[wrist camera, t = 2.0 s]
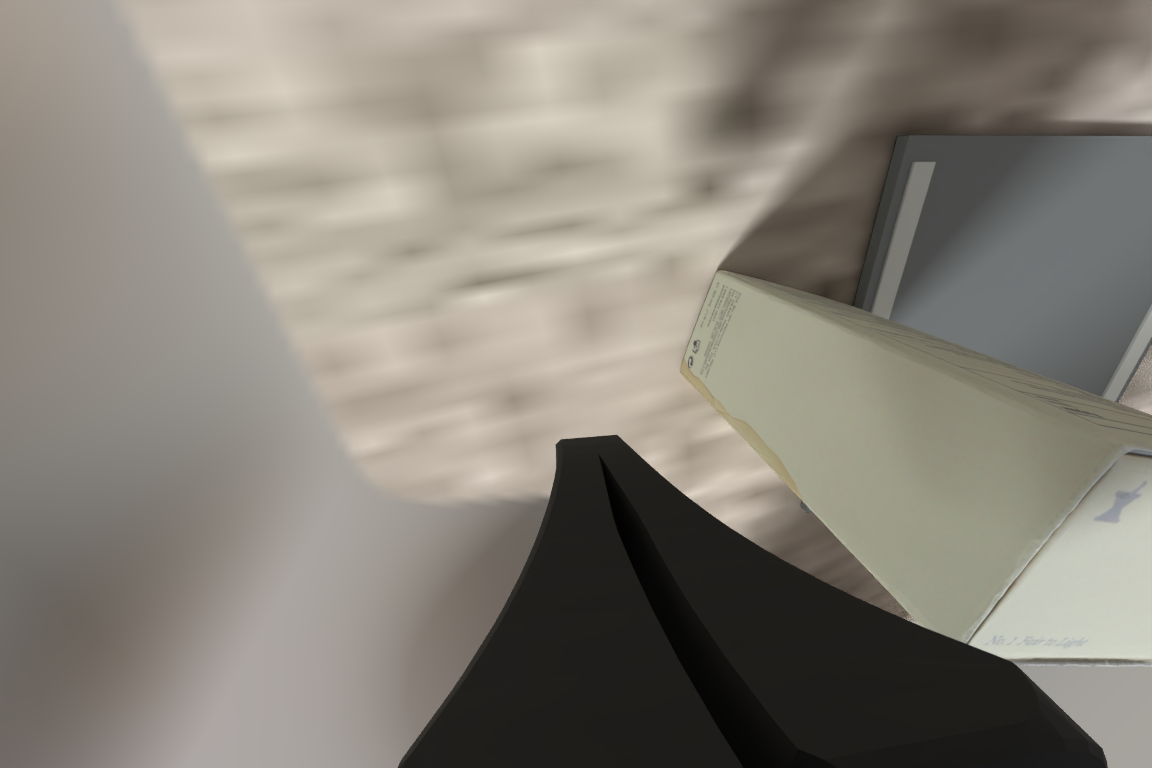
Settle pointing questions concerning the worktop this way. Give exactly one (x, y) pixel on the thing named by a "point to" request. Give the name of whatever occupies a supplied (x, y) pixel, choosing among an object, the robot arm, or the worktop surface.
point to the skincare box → (944, 471)
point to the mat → (1020, 251)
